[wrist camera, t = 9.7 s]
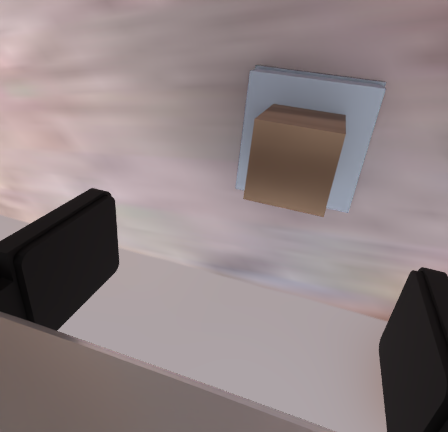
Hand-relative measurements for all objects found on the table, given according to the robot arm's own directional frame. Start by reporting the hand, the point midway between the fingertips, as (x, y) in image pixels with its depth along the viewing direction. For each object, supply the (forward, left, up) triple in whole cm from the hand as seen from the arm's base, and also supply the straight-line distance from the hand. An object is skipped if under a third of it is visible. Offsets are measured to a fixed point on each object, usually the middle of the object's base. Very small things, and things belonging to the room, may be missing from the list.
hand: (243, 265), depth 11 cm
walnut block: (0, 0, -17) cm, 17 cm away
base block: (0, 0, -20) cm, 20 cm away
